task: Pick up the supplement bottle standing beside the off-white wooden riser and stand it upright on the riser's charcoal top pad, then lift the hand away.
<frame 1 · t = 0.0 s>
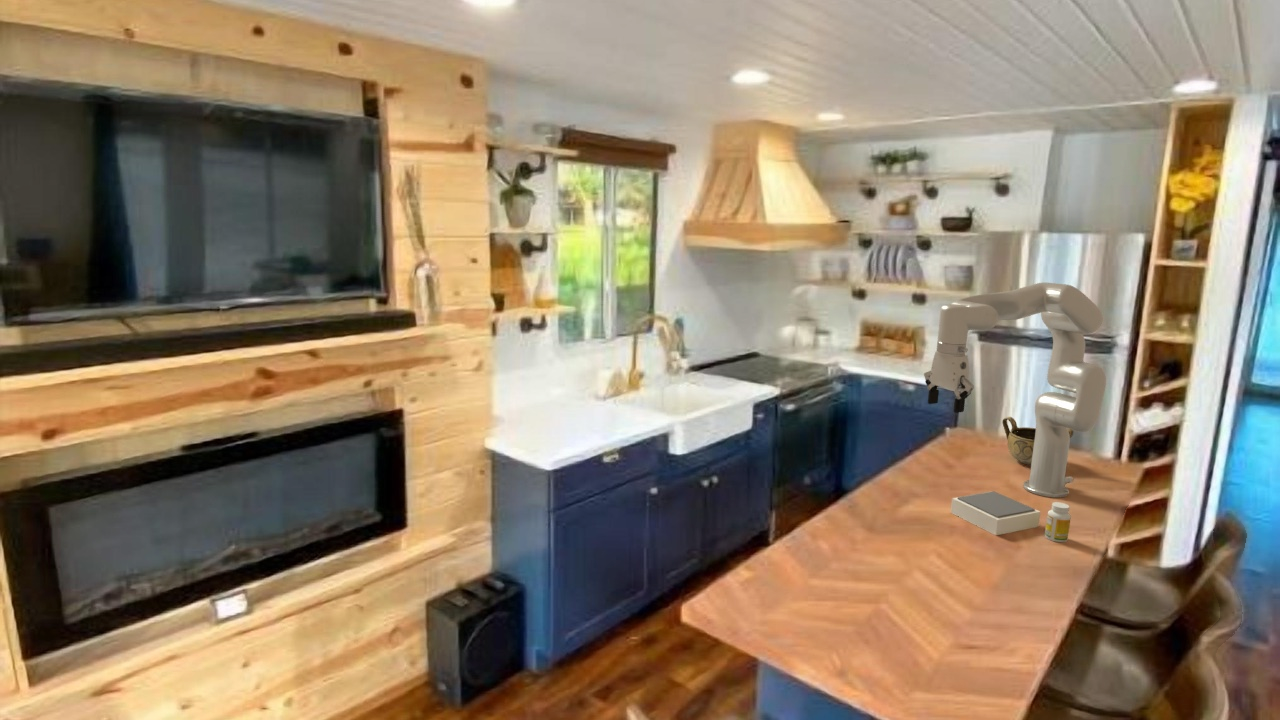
hand: (945, 407, 203), 31 cm above the kitchen island, tool pointing down, fingers open, 9 cm apart
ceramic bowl: (1031, 464, 251), on the kitchen island
riser: (993, 519, 204), on the kitchen island
supplement bottle: (1055, 539, 192), on the kitchen island
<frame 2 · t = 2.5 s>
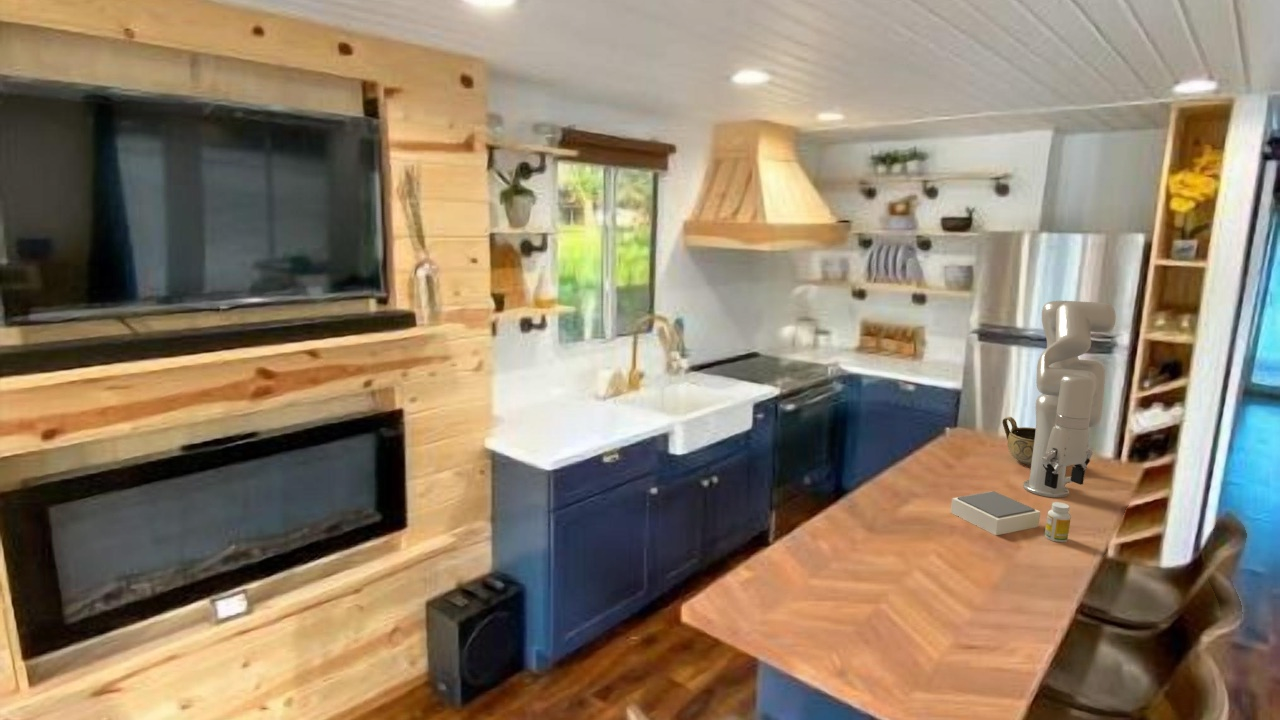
hand: (1063, 484, 189), 15 cm above the kitchen island, tool pointing down, fingers open, 9 cm apart
nothing on the kitchen island moved.
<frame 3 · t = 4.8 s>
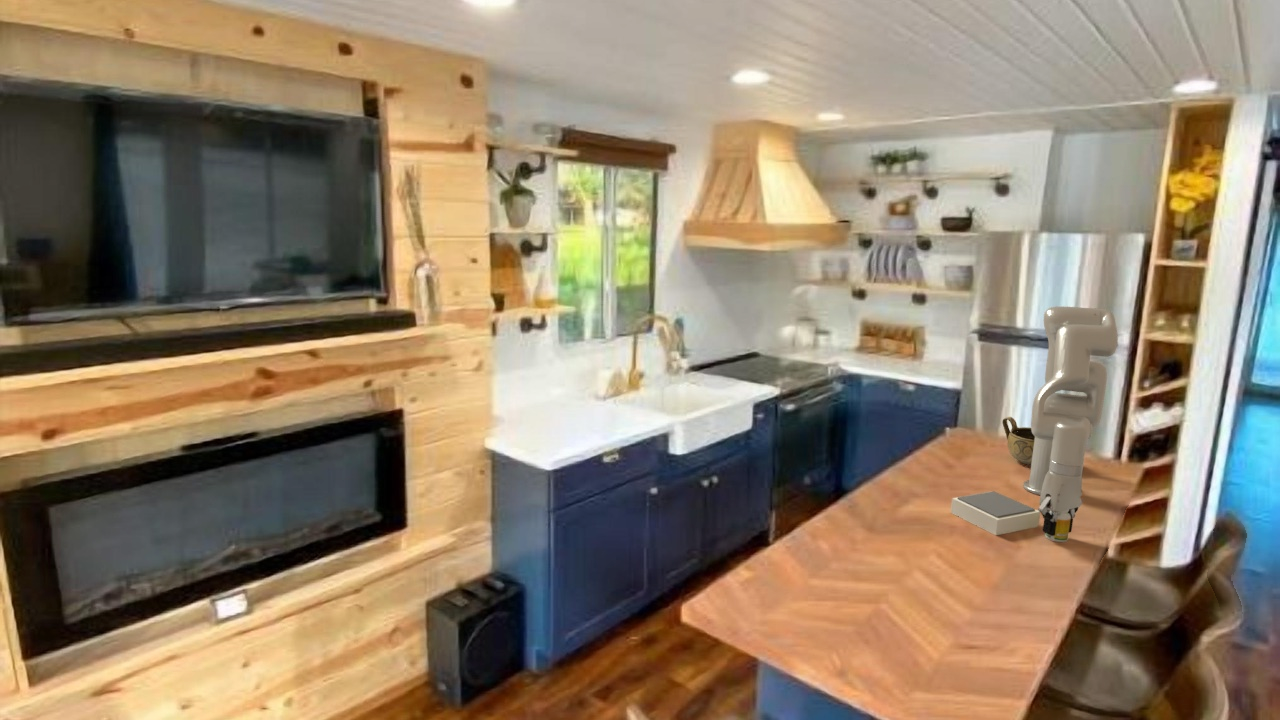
hand: (1056, 531, 192), 2 cm above the kitchen island, tool pointing down, fingers closed on supplement bottle, 5 cm apart
supplement bottle: (1055, 539, 192), on the kitchen island, touching gripper
everything else where it was.
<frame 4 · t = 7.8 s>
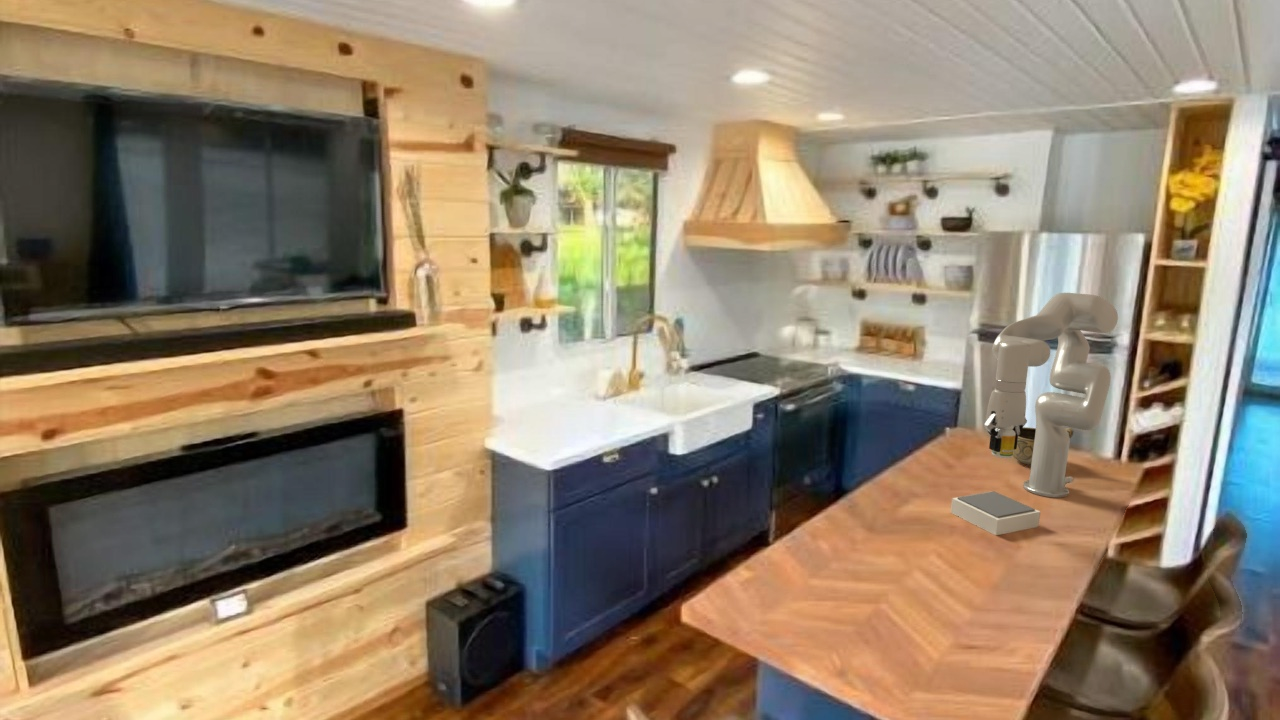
hand: (1002, 448, 199), 21 cm above the kitchen island, tool pointing down, fingers closed on supplement bottle, 5 cm apart
supplement bottle: (1002, 456, 200), point 19 cm above the kitchen island, touching gripper
everything else where it was.
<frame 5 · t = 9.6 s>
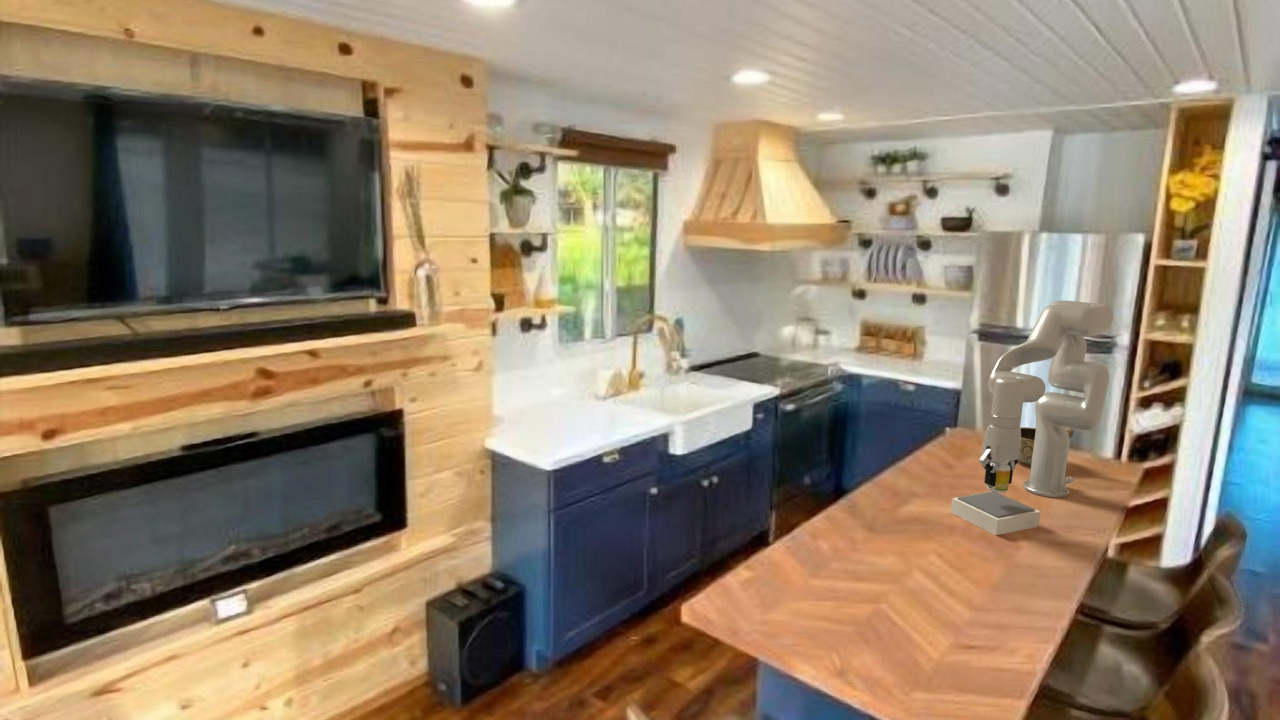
hand: (997, 482, 201), 11 cm above the kitchen island, tool pointing down, fingers closed on supplement bottle, 5 cm apart
supplement bottle: (997, 490, 202), point 9 cm above the kitchen island, touching gripper
everything else where it was.
when the fingers open (8 cm above the kitchen island, at t = 11.0 s): supplement bottle drops 1 cm, resting on riser.
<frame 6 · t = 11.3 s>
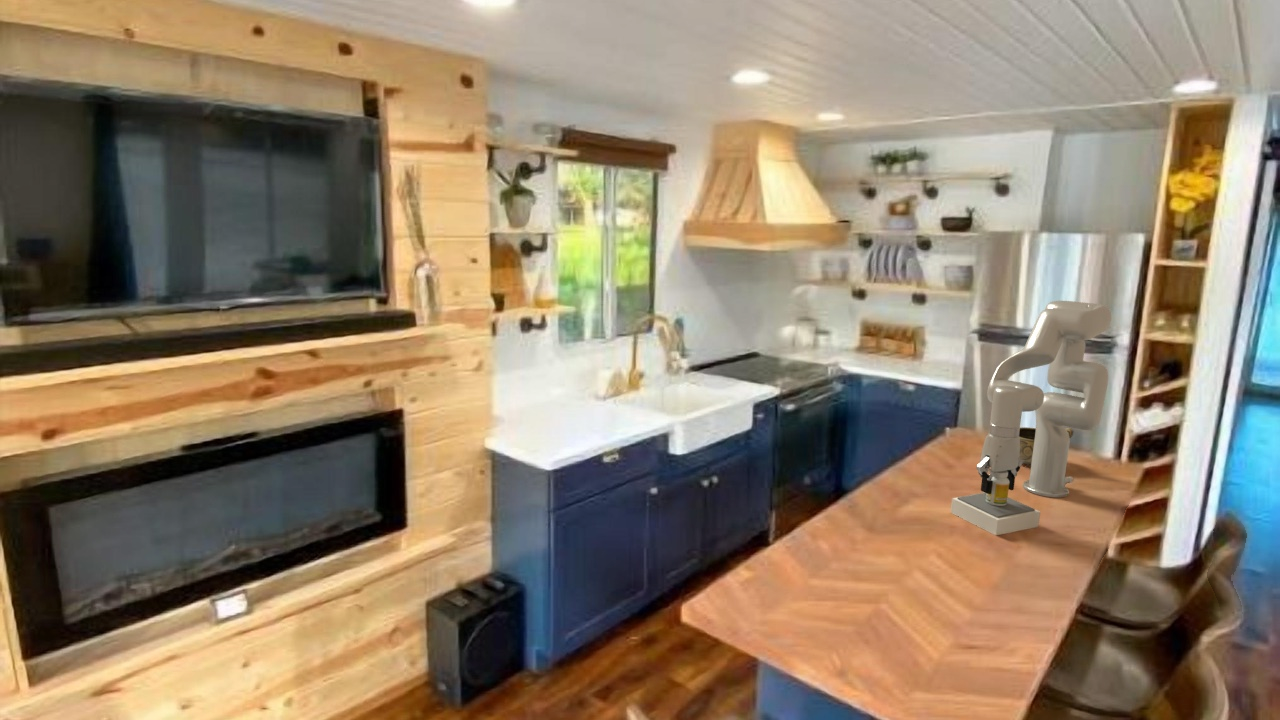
hand: (997, 490, 202), 9 cm above the kitchen island, tool pointing down, fingers open, 7 cm apart
supplement bottle: (995, 503, 203), point 5 cm above the kitchen island, touching riser
everything else where it was.
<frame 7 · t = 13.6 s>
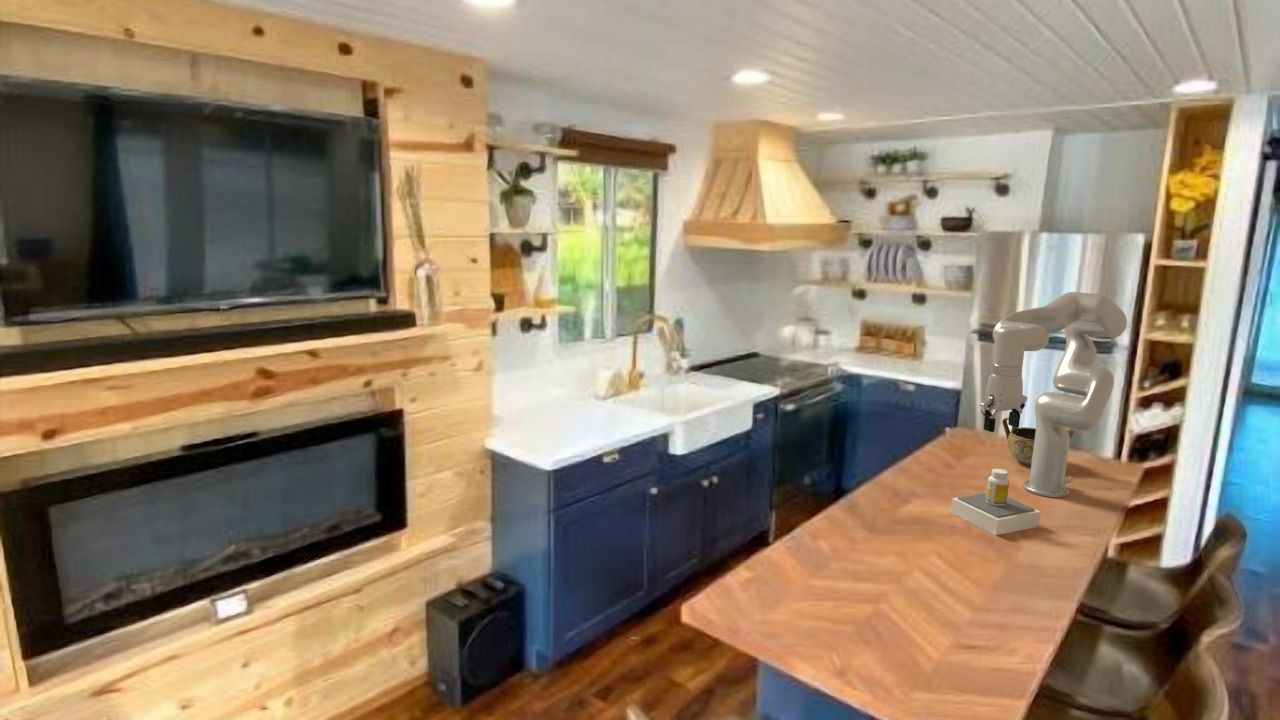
hand: (1001, 428, 204), 25 cm above the kitchen island, tool pointing down, fingers open, 9 cm apart
nothing on the kitchen island moved.
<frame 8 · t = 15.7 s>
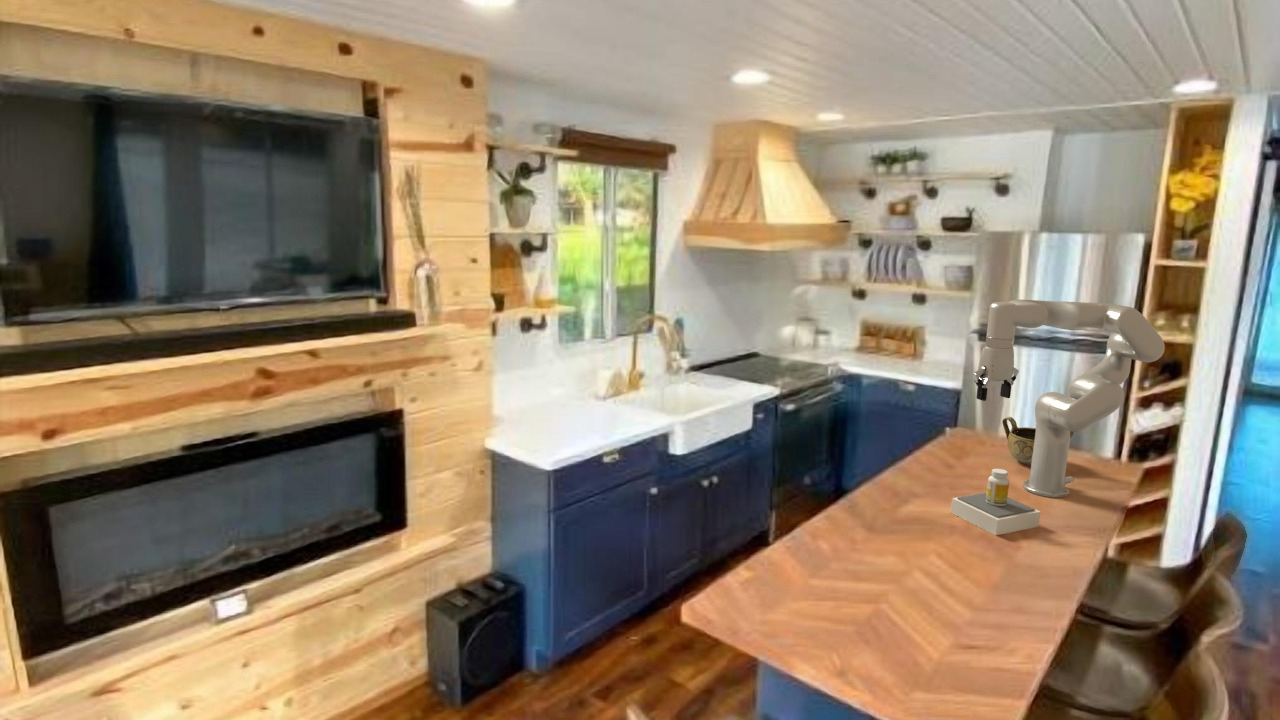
hand: (993, 398, 218), 30 cm above the kitchen island, tool pointing down, fingers open, 9 cm apart
nothing on the kitchen island moved.
at the end: supplement bottle inside the target area on the riser (0.3 cm from its centre), point 4.8 cm above the riser's base; supplement bottle tilted 0°; the gripper is holding nothing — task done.
